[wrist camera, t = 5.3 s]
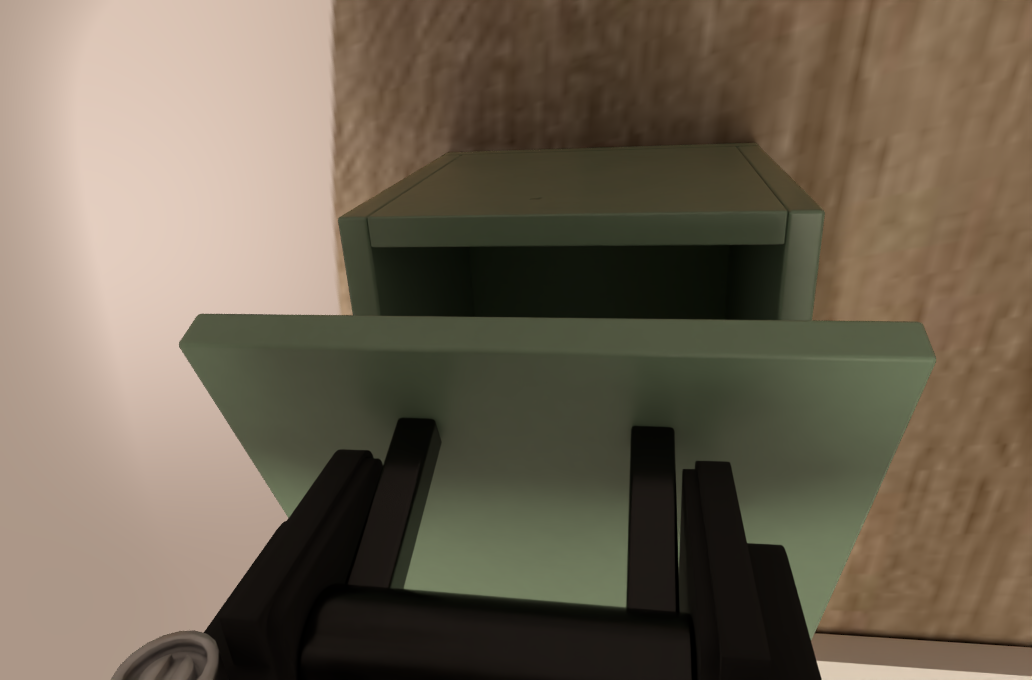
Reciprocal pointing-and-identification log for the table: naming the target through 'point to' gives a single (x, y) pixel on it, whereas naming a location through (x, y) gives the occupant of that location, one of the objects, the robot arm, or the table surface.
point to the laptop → (917, 659)
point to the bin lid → (557, 472)
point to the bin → (589, 236)
